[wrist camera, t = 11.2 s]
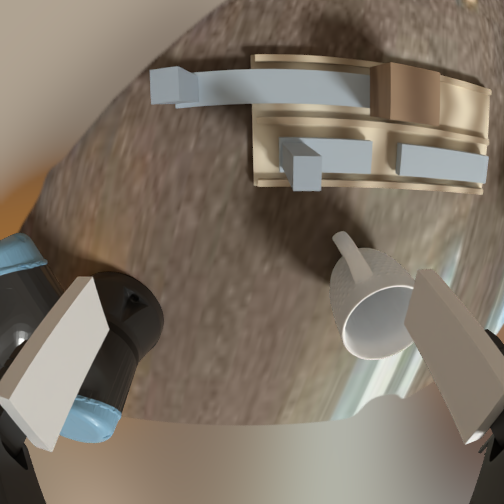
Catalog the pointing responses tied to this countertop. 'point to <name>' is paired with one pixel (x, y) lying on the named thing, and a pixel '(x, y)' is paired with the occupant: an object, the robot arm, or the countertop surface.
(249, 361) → the countertop surface
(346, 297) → the mug
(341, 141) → the broken strip
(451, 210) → the countertop surface
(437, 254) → the countertop surface
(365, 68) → the lane board
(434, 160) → the broken strip
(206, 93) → the strip
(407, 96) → the walnut block
